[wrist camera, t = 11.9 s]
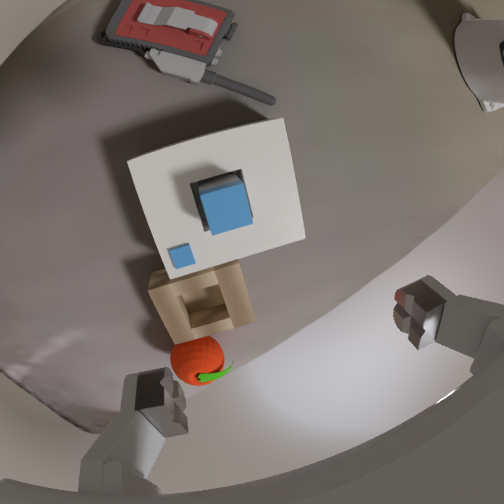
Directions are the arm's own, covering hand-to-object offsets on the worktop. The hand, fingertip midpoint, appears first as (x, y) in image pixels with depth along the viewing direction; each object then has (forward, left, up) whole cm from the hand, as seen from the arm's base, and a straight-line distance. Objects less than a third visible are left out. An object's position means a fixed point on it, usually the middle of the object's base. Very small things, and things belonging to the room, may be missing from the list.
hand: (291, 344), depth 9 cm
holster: (+5, +11, -23) cm, 26 cm away
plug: (0, 0, -22) cm, 22 cm away
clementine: (+8, +19, -24) cm, 31 cm away
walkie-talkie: (-1, -16, -24) cm, 29 cm away
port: (0, 0, -23) cm, 23 cm away
